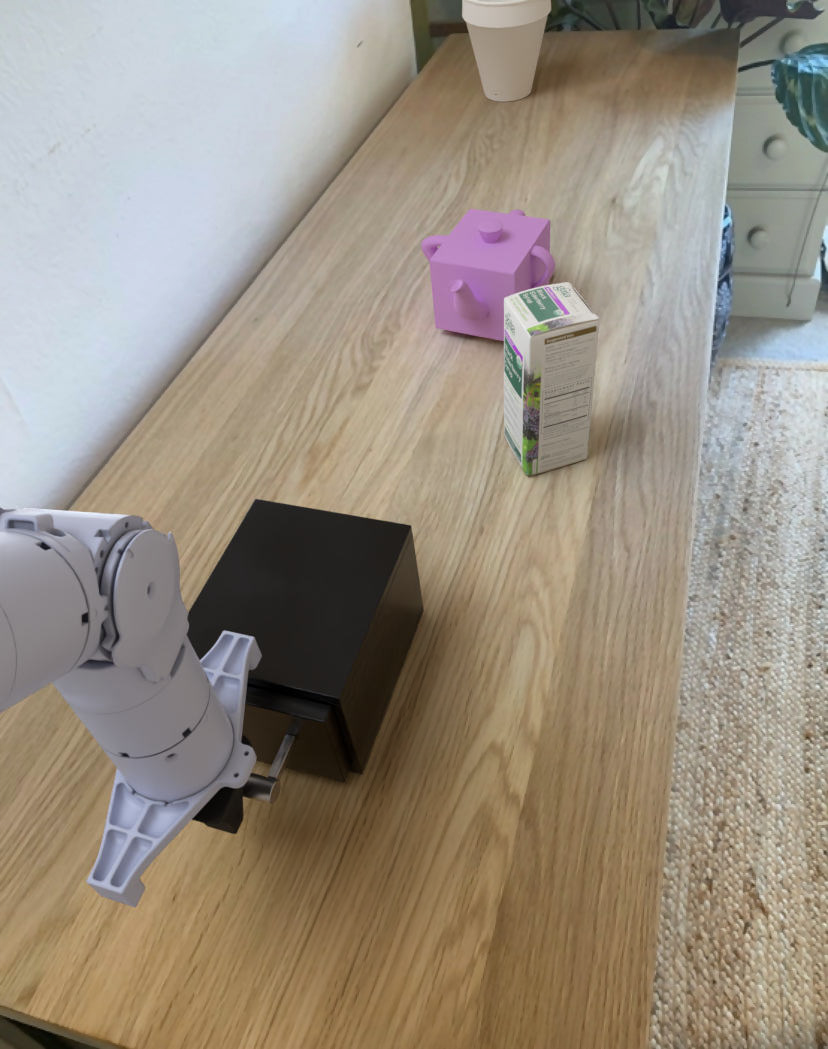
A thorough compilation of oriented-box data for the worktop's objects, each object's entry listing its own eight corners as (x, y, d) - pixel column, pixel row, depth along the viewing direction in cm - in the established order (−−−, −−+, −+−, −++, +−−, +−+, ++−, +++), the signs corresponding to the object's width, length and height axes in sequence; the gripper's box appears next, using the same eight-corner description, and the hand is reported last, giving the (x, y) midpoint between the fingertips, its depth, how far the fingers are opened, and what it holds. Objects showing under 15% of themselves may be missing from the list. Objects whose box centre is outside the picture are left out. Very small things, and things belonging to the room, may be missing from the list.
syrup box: (501, 437, 76) (498, 295, 65) (563, 419, 77) (570, 276, 66) (526, 479, 72) (527, 336, 61) (591, 459, 73) (602, 315, 62)
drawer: (321, 847, 52) (295, 790, 46) (171, 804, 55) (129, 745, 49) (406, 626, 62) (393, 557, 56) (276, 599, 65) (252, 531, 59)
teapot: (518, 383, 81) (518, 290, 73) (387, 356, 85) (374, 266, 78) (577, 281, 91) (582, 191, 84) (457, 262, 96) (452, 175, 88)
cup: (543, 109, 121) (545, 1, 111) (458, 109, 123) (452, 4, 113) (554, 74, 128) (557, -30, 118) (474, 75, 131) (470, -27, 121)
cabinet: (362, 775, 56) (339, 698, 48) (205, 734, 59) (161, 657, 52) (424, 610, 64) (411, 524, 57) (283, 582, 67) (255, 498, 60)
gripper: (147, 876, 35) (232, 971, 45) (287, 599, 44) (331, 729, 54) (5, 831, 37) (117, 932, 47) (167, 574, 46) (232, 704, 56)
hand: (224, 821), depth 50 cm, fingers closed
